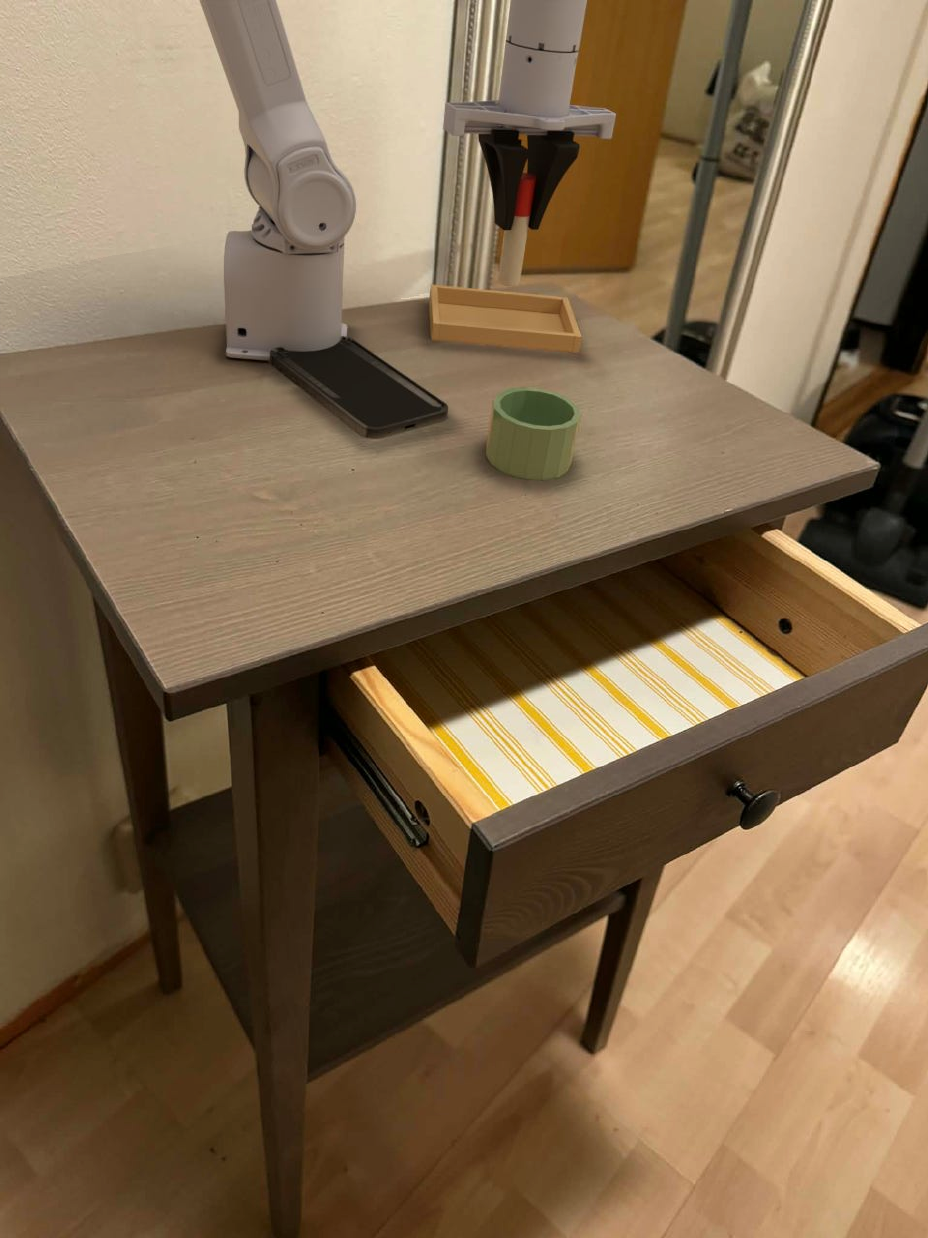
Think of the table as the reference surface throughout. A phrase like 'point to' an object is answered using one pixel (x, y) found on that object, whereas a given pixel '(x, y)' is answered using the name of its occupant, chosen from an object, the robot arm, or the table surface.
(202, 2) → the robot arm
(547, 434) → the pen cup
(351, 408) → the phone
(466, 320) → the pen tray
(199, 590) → the table surface
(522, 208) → the marker
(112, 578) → the table surface
